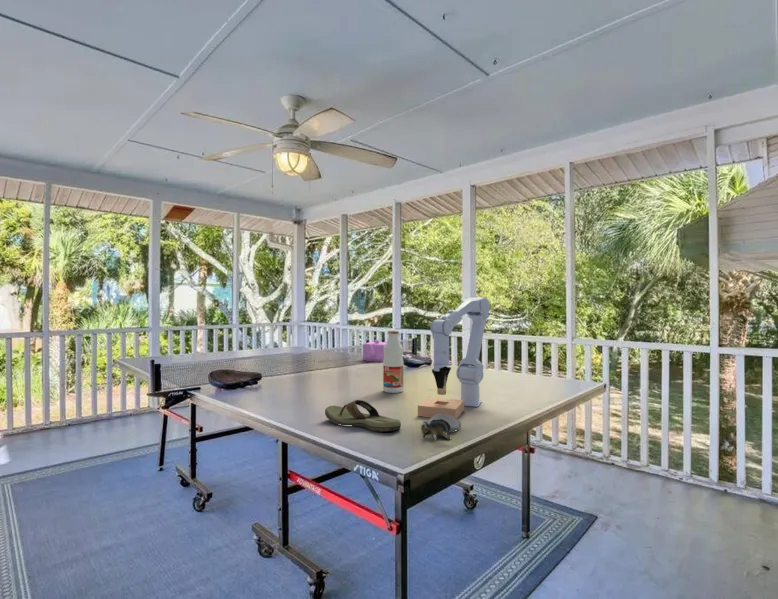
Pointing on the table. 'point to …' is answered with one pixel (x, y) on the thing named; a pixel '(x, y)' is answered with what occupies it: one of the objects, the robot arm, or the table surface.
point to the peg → (442, 391)
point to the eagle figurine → (436, 428)
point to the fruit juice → (393, 364)
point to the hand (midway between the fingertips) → (441, 387)
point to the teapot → (374, 351)
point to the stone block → (452, 421)
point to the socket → (440, 407)
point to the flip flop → (361, 417)
